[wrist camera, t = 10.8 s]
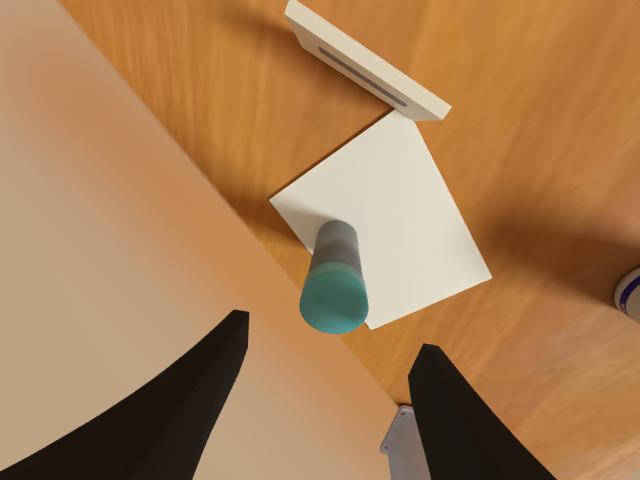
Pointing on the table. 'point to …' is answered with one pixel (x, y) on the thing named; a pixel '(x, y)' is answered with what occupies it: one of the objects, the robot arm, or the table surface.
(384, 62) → the plate
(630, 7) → the table surface
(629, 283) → the energy drink
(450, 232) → the paper
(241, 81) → the table surface
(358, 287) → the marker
